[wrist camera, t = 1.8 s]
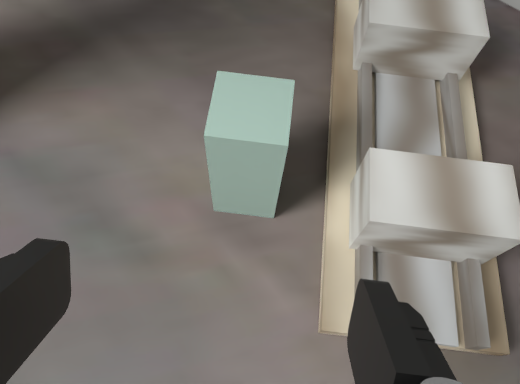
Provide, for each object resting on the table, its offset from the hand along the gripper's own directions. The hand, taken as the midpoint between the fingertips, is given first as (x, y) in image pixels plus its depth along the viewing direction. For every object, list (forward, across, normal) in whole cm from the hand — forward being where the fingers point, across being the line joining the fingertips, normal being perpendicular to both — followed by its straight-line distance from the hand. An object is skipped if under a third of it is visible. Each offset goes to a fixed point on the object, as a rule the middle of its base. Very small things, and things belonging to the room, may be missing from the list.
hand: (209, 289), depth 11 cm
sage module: (+20, 0, +4) cm, 21 cm away
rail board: (+25, -12, -1) cm, 27 cm away
